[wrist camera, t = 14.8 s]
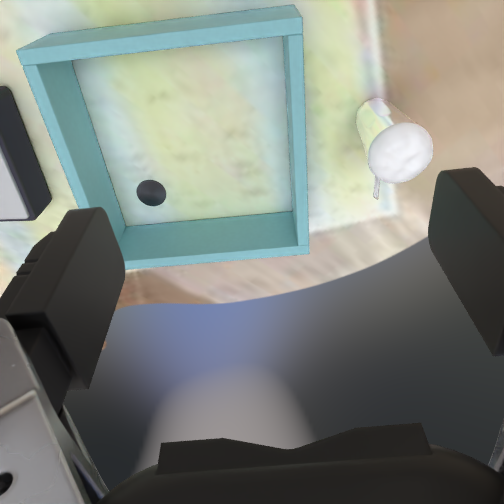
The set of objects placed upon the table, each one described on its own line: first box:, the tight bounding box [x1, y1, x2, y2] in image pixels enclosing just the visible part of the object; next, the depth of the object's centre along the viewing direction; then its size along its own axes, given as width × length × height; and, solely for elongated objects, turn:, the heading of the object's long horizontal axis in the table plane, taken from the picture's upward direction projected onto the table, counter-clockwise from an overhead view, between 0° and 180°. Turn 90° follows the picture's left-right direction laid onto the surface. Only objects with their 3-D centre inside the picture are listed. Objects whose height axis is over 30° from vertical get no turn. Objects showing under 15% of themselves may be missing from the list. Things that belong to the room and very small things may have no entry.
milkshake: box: [355, 97, 433, 200], centre depth 33 cm, size 4×5×10 cm
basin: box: [16, 5, 309, 270], centre depth 36 cm, size 19×19×6 cm
